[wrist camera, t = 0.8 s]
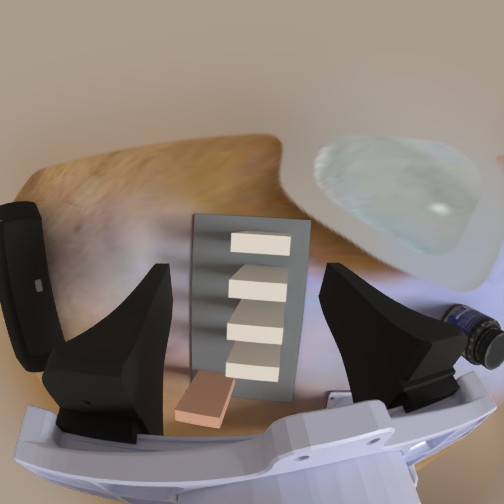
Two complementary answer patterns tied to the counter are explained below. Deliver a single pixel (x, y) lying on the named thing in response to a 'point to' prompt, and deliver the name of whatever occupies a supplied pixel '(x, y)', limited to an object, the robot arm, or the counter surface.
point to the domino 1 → (205, 399)
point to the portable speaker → (27, 286)
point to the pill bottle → (478, 336)
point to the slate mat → (222, 307)
